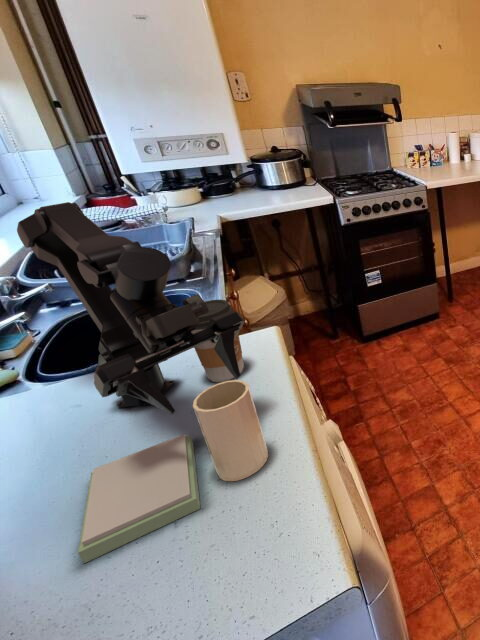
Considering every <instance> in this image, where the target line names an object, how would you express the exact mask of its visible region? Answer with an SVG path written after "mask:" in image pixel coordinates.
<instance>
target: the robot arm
mask: <svg viewBox="0 0 480 640" xmlns="http://www.w3.org/2000/svg"><path fill="white" fill-rule="evenodd" d="M16 232H17V235H18V239H20V242H21V243H22V245H23V246H24V247H25V248H26V249H28V248H30V249H31V251H32V252H33V253H34V255H35V256H36V258H37V259H39V260H41V261H44V262H45V263H48V264H51V265H53V266H56V267H57V268H58V270H60V272H61V274H62V275H63V277H64V279H65V280H66V281H67V283H68V284H69V286H70V288H71V289H72V291H73V292H74V293H75V295H76V297H77V298H78V300H79V301H80V303H81V304H82V306H83V307H84V309H85V310H86V312H87V313H88V315H89V316H90V318H91V319H92V321H93V323H94V324H95V326H96V327H97V328H98V329H99V332H100V337H99V343H98V352H99V353H100V354H98V359H97V362H98V363H97V366H96V368H95V371H94V373H93V375H94V376H93V384H94V386H95V389H96V390H97V392H98V393H99V394H100V396H101V398H106V397H109V396H111V395H114V394H115V395H116V397H117V398H119V397H121V401H120V402H118V403H117V404H116V406H117V408H118V409H122V408H123V409H124V408H131V407H142V406H151V405H152V406H154V407H155V408H158V409H160V410H161V411H163V412H165V413H167V414H169V415H171V416H172V415H174V414H175V413H176V409H175V408H174V407H173V404H172V403H171V401H170V400H169V399H168V398H167V397H166V396H165V394H166V393H167V392H168V391H169V390H170V389H171V388H172V387H173V386H174V385H175V381H174V380H165V377H164V374H163V371H162V370H161V367H160V364H161V363H163V362H166V361H168V360H169V359H171V358H173V357H176V356H178V355H180V354H182V353H185V352H187V351H189V350H191V349H193V348H194V347H196V346H198V345H200V344H202V343H205V342H207V341H209V340H210V341H211V343H216V345H215V348H214V350H215V351H216V353H217V354H218V356H219V357H220V358H221V360H222V361H223V363H224V364H225V366H226V367H227V368H228V370H229V371H230V373H231V374H232V375H233V376H234V377H235V378H234V379H235V380H239V378H240V377H241V373H240V372H239V367H238V363H237V359H236V354H235V349H234V340H235V338H236V336H237V335H239V334H240V332H241V330H242V328H243V326H244V324H245V322H246V320H245V318H244V317H243V315H242V314H241V312H238V311H235V310H234V309H233V310H234V311H233V310H231V311H229V312H226V313H224V314H221V315H219V316H217V317H214V318H212V319H210V322H209V324H208V327H207V328H206V329H204V330H202V331H199V332H197V333H195V334H193V333H192V332H191V331H193V330H195V328H196V326H195V324H198V323H200V321H199V320H198V318H197V317H199V316H201V315H204V314H206V313H208V311H209V310H208V307H207V305H206V303H205V300H204V299H203V298H202V297H201V295H200V294H199V293H197V294H194V295H192V296H189V297H187V298H185V299H183V300H182V304H183V305H182V306H179V307H178V305H177V304H175V302H172V303H171V302H170V300H169V298H168V297H167V296H166V294H165V293H164V290H165V289H166V287H167V284H168V280H169V279H168V278H169V274H170V269H171V266H172V265H171V259H170V257H169V256H168V255H167V254H166V253H165V252H163V251H161V250H159V249H157V248H153V247H148V246H142V245H141V244H140V242H139V241H133V240H131V239H129V238H127V237H125V236H120V235H119V236H118V235H110V234H108V233H107V232H106V231H104V229H102V228H101V227H100V226H98V225H97V224H96V223H95V222H93V220H91V219H90V218H89V217H87V215H86V214H84V212H83V210H82V209H81V208H80V206H79V204H77V203H76V202H70V201H68V202H61V203H55V204H49V205H43V206H40V207H39V208H36V209H35V210H34V212H33V213H32V214H31V215H29V216H27V217H26V218H23V219H22V220H20V221H18V222H17V227H16ZM113 285H115V286H114V287H113V289H112V288H111V287H110V286H113ZM194 349H195V348H194Z"/></svg>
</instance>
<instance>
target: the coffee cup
mask: <svg viewBox="0 0 480 640" xmlns="http://www.w3.org/2000/svg"><path fill="white" fill-rule="evenodd" d="M204 302H205V303H206V305H207V307H208V310H209V311H208V313H206V314H204V315H201V316H199V317H197V318H198V320H199V321H200V323H198V324H195V326H196V328H195V330H193V331H191V332H192V333H193V334H195V333H197V332H199V331H202V330H204V329H206V328H207V327H208V324H209V322H210V319H212V318H214V317H217V316H219V315H221V314H224V313H226V312H229V311H231V310H233V311H235V310H234V308H233V306H232V305H231V304H230V303H229V301H228V300H227V299H210V300H206V301H205V300H204ZM215 345H216V343H211V341H210V340H209V341H207V342H205V343H202V344H200V345H198V346H196V347H194V351H195V354H196V355H197V357H198V360H199V362H200V364H201V366H202V367H203V370H204V373H205V374H206V377H207V379H208V380H209V381H211V382H214V383H222V382H225V381H231V380H234V379H236V378H235V377H234V376H233V375H232V374H231V373H230V371H229V370H228V368H227V367H226V366H225V364H224V363H223V361H222V360H221V358H220V357H219V356H218V354H217V353H216V351H215V350H214V348H215ZM234 349H235V354H236V359H237V363H238V367H239V372H240V374H242V373H243V371H244V368H245V363H244V357H243V350H242V346H241V340H240V335H239V334H238V335H237V336H236V338H235V340H234Z"/></svg>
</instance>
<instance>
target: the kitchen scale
mask: <svg viewBox="0 0 480 640" xmlns="http://www.w3.org/2000/svg"><path fill="white" fill-rule="evenodd" d="M196 465H197V464H196V456H195V447H194V442H193V439H192V437H191V434H187V435H186V434H185V433H183V434H180V435H178V436H176V437H173V438H170V439H168V440H165V441H162V442H159V443H157V444H155V445H152V446H149V447H147V448H144V449H141V450H139V451H137V452H134V453H131V454H128V455H127V456H123V457H121V458H118V459H116V460H113V461H110V462H108V463H106V464H103V465H100V466H98V467H95V468H93V469H92V472H91V473H90V476H89V477H90V478H89V484H88V488H87V495H86V502H85V507H84V509H85V510H84V514H83V520H82V526H81V532H80V539H79V543H78V551H77V553H78V555H79V558H80V559H81V560H82V563H83V564H86V563H88V562H91V561H92V560H95V559H97V558H99V557H101V556H103V555H106V554H108V553H109V552H111V551H114V550H115V549H118V548H120V547H122V546H124V545H126V544H129V543H130V542H132V541H135V540H137V539H139V538H142V537H143V536H145V535H148V534H150V533H152V532H154V531H156V530H158V529H160V528H162V527H164V526H166V525H168V524H170V523H173V522H174V521H177V520H179V519H181V518H183V517H185V516H188V515H190V514H192V513H194V512H196V511H198V510H201V502H200V501H201V500H200V493H199V484H198V483H199V482H198V474H197V466H196Z"/></svg>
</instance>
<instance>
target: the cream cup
mask: <svg viewBox="0 0 480 640" xmlns="http://www.w3.org/2000/svg"><path fill="white" fill-rule="evenodd" d="M192 408H193V411H194V414H195V417H196V419H197V422H198V425H199V428H200V430H201V433H202V435H203V439H204V441H205V444H206V447H207V449H208V452H209V456H210V458H211V460H212V461H211V462H212V464H213V466H214V469H215V471H216V474H217V476H218V478H219V479H220V480H222V481H224V482H237V481H241V480H244V479H247V478H249V477H250V476H253V475H254V474H255V473H257V472H258V471H259V470H260V469H262V467H264V466H265V464H266V462H267V460H268V458H269V451H268V447H267V443H266V440H265V437H264V433H263V429H262V426H261V422H260V419H259V416H258V413H257V408H256V405H255V403H254V399H253V395H252V392H251V389H250V385H249V384H248V383H247V382H246V381H245V380H240V379H230V380H228V381H224V382H217V383H216V384H213V385H211V386H209V387H207V388H205V389H204V390H203V391H201V392H200V393H199V394H198V395H196V397H195V399H194V400H193V401H192Z"/></svg>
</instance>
